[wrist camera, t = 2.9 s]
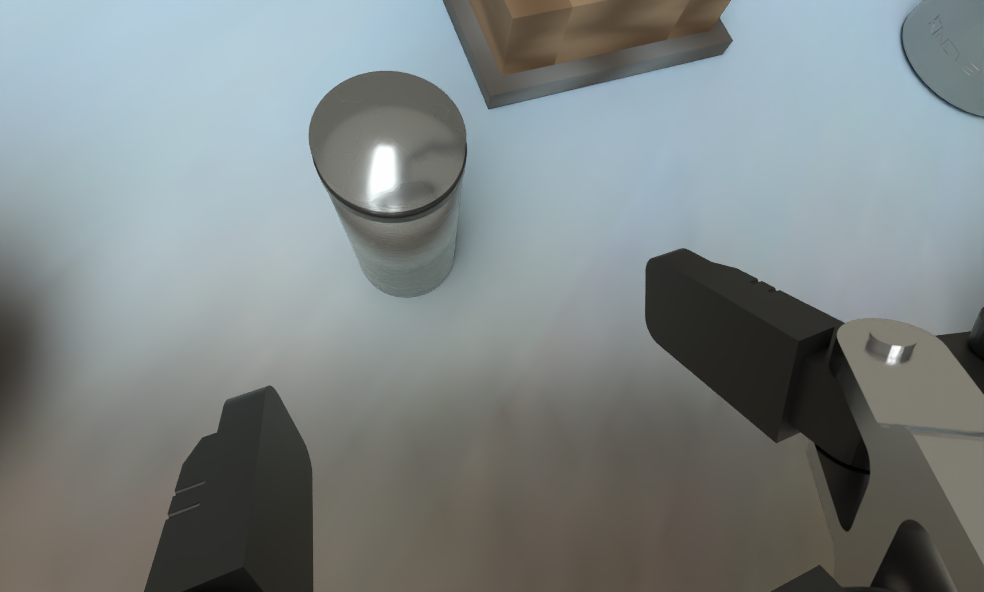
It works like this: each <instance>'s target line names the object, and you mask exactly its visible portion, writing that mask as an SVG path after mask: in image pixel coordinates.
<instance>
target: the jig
mask: <svg viewBox="0 0 984 592" xmlns="http://www.w3.org/2000/svg"><path fill="white" fill-rule="evenodd" d="M730 1H731V0H443V2H444V4H445V7H446V9H447V12H448V14H449V16H450V19H451V21H452V23H453V26H454V28H455V31H456V33H457V35H458V38H459V40H460V42H461V45H462V47H463V50H464V52H465V54H466V57H467V59H468V61H469V64H470V66H471V69H472V71H473V73H474V76H475V78H476V80H477V83H478V85H479V87H480V90H481V92H482V95H483V97H484V99H485V102H486V104H487V106H488V109H491V108H495V107H499V106H503V105H508V104H512V103H516V102H521V101H525V100H529V99H533V98H538V97H542V96H546V95H550V94H555V93H559V92H563V91H567V90H572V89H576V88H580V87H584V86H589V85H593V84H597V83H602V82H606V81H610V80H614V79H619V78H623V77H627V76H631V75H636V74H640V73H644V72H648V71H653V70H657V69H661V68H665V67H670V66H674V65H678V64H683V63H687V62H691V61H695V60H700V59H704V58H708V57H712V56H717V55H721V54H723V53H724V52H725V50H726V49H727V48H728V46H729V45H730V44H731V42H732V41H733V40H732V38H731V37H730V35H729V33H728V32H727V30H726V28H725V27H724V25H723V23H722V21H721V20H720V18H719V17H720V16H721V14H722V13H723V11H724V10H725V8H726V7H727V5H728V4H729V2H730Z"/></svg>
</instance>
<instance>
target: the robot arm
mask: <svg viewBox="0 0 984 592" xmlns="http://www.w3.org/2000/svg"><path fill="white" fill-rule="evenodd" d="M902 36H903V44H904V48H905V51H906V54H907V57H908V59H909V61H910V63H911V64H912V66H913V68H914V70H915V71H916V73H917V74H918V75H919V76H920V77H921V79H922V80H923V81H924V82H925V84H927V85H928V86H929V87H930V88H931V89H932V90H933V91H934V92H935V93H936V94H937V95H939V96H940V97H942V98H943V99H945V100H946V101H948V102H949V103H950V104H952V105H954V106H956V107H958V108H960V109H962V110H964V111H967V112H970V113H973V114H976V115H979V116H984V0H924V1H923V2H922V3H921V4H919V5H918V6H917V7H916V8H915V9H914V10H913V11H912V12H911V13H910V14H909V15H908V17H907V19H906V21H905V23H904V26H903V34H902ZM645 319H646V324H647V328H648V330H649V332H650V334H651V336H652V338H653V339H654V340H655V342H656V343H657V344H659V345H660V346H661V347H662V348H663V349H664V350H666V351H667V352H668V353H669V354H670V355H672V356H673V357H674V358H675V359H676V360H678V361H679V362H680V363H681V364H682V365H684V366H685V367H686V368H687V369H688V370H690V371H691V372H692V373H693V374H694V375H696V376H697V377H698V378H699V379H700V380H702V381H703V382H704V383H705V384H706V385H707V386H709V387H710V388H711V389H712V390H713V391H715V392H716V393H717V394H718V395H719V396H721V397H722V398H723V399H724V400H725V401H727V402H728V403H729V404H730V405H731V406H733V407H734V408H735V409H736V410H737V411H739V412H740V413H741V414H742V415H743V416H744V417H746V418H747V419H748V420H749V421H750V422H752V423H753V424H754V425H755V426H756V427H758V428H759V429H760V430H761V431H762V432H764V433H765V434H766V435H767V436H768V437H770V438H771V439H772V440H773V441H774V442H776V443H778V442H780V441H782V440H784V439H786V438H789V437H791V436H793V435H795V434H797V433H799V432H801V433H802V434H804V435H805V436H806V437H807V438H808V442H807V445H806V453H807V457H808V460H809V464H810V467H811V470H812V474H813V477H814V481H815V484H816V487H817V491H818V494H819V498H820V501H821V504H822V508H823V511H824V515H825V518H826V521H827V525H828V528H829V531H830V535H831V538H832V542H833V547H834V555H835V568H834V579H833V578H832V577H831V576H830V575H829V574H828V573H827V572H826V571H825V570H824V569H823V568H822V567H821V566H820V565H819V566H817V567H815V568H813V569H811V570H810V571H808V572H806V573H804V574H802V575H800V576H799V577H797V578H795V579H793V580H791V581H789V582H788V583H786V584H784V585H782V586H780V587H778V588H777V589H775V590H773V591H771V592H984V308H982V309H981V311H980V314H979V316H978V318H977V320H976V322H975V325H974V327H973V329H972V331H971V332H963V333H954V334H946V335H938V336H934V335H932V334H931V333H929V332H927V331H925V330H923V329H921V328H918V327H915V326H913V325H910V324H906V323H903V322H899V321H894V320H887V319H877V318H866V319H857V320H853V321H850V322H847V323H843V322H841V321H839V320H838V319H836V318H834V317H832V316H830V315H828V314H826V313H824V312H822V311H820V310H818V309H816V308H814V307H812V306H810V305H808V304H806V303H804V302H802V301H800V300H798V299H796V298H794V297H792V296H790V295H788V294H786V293H784V292H782V291H780V290H779V291H776V290H775V288H774V287H772V286H770V285H768V284H766V283H765V282H763V281H761V282H758V279H757V278H755V277H753V276H751V275H749V274H747V273H745V272H743V271H741V270H739V269H737V268H733V267H729V266H725V265H721V264H717V263H713V262H711V261H709V260H707V259H705V258H703V257H701V256H699V255H697V254H695V253H693V252H691V251H690V250H687V249H684V248H682V249H678V250H675V251H672V252H669V253H666V254H663V255H660V256H657V257H654V258H651V259H650V260H649V261H648V263H647V265H646V293H645ZM175 493H176V496H173V498H172V501H171V505H170V508H169V511H168V516H169V519H167V520H166V521H165V524H164V528H163V531H162V534H161V538H160V541H159V544H158V547H157V551H156V554H155V557H154V561H153V564H152V567H151V570H150V574H149V577H148V580H147V583H146V587H145V590H144V592H313V503H312V467H311V461H310V457H309V454H308V450H307V448H306V445H305V443H304V441H303V439H302V437H301V435H300V433H299V432H298V430H297V428H296V426H295V424H294V422H293V420H292V419H291V417H290V415H289V413H288V411H287V409H286V408H285V406H284V404H283V402H282V400H281V398H280V397H279V395H278V393H277V391H276V390H275V389H274V388H273V387H272V386H267V387H264V388H261V389H258V390H255V391H252V392H249V393H246V394H243V395H240V396H237V397H234V398H231V399H228V400H226V402H225V403H224V406H223V411H222V415H221V419H220V423H219V427H218V431H217V433H214V434H211V435H209V436H206V437H203V438H202V439H201V440H200V442H199V443H198V444H197V446H196V447H195V448H194V450H193V451H192V452H191V454H190V455H189V457H188V458H187V459H186V461H185V462H184V463H183V465H182V469H181V472H180V475H179V479H178V482H177V485H176V488H175Z"/></svg>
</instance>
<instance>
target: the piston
mask: <svg viewBox="0 0 984 592" xmlns="http://www.w3.org/2000/svg"><path fill="white" fill-rule="evenodd" d="M309 145H310V150H311V154H312V157H313V162H314V165H315V167H316V170H317V173H318V175H319V177H320V179H321V181H322V183H323V185H324V187H325V189H326V190H327V192H328V193H329V195H330V198H331V200H332V202H333V204H334V207H335V209H336V211H337V213H338V216H339V218H340V220H341V223H342V225H343V227H344V229H345V232H346V234H347V236H348V238H349V241H350V243H351V245H352V248H353V250H354V252H355V254H356V257H357V259H358V261H359V263H360V266H361V268H362V270H363V272H364V274H365V276H366V277H367V279H368V280H369V281H370V282H371V283H372V284H373V285H374V286H375V287H376V288H378V289H379V290H381V291H383V292H384V293H387V294H389V295H393V296H397V297H416V296H420V295H423V294H426V293H428V292H430V291H432V290H434V289H435V288H436V287H438V286H439V285H440V284H441V283H442V282H443V281H444V280H445V279H446V277H447V276H448V274H449V272H450V270H451V268H452V264H453V260H454V252H455V242H456V233H457V224H458V215H459V205H460V196H461V187H462V179H463V175H464V172H465V164H466V156H467V143H466V130H465V125H464V122H463V118H462V116H461V114H460V112H459V110H458V108H457V107H456V105H455V104H454V102H453V101H452V100H451V99H450V98H449V96H448V95H447V94H445V93H444V92H443V91H442V90H441V89H440V88H438V87H437V86H435V85H434V84H432V83H430V82H429V81H427V80H425V79H422V78H420V77H417V76H415V75H411V74H408V73H402V72H397V71H376V72H369V73H364V74H361V75H357V76H355V77H352V78H350V79H347V80H346V81H344V82H342V83H340V84H339V85H337V86H336V87H334V88H333V89H332V90H331V91H330V92H328V93H327V94H326V95H325V97H324V98H323V99H322V100H321V101H320V103H319V104H318V106H317V108H316V109H315V111H314V114H313V116H312V119H311V123H310V127H309Z"/></svg>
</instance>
